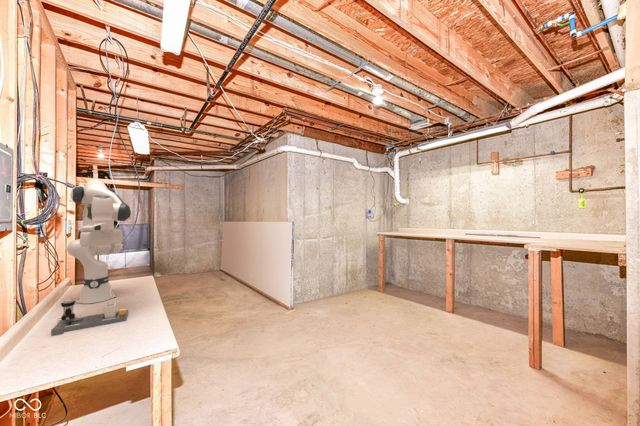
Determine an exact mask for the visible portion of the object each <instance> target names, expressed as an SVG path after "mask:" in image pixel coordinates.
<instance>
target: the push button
mask: <svg viewBox="0 0 640 426" xmlns="http://www.w3.org/2000/svg"><path fill="white" fill-rule="evenodd" d="M76 301H77V300H74V299H72V298H70V299H65V300H63V302H60V305H61V307H62V311H63V314H62V316H60V318H58V319H57V322H60V321H62V320H68V319H74V318H76V313H75V312H74V305H76Z"/></svg>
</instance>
